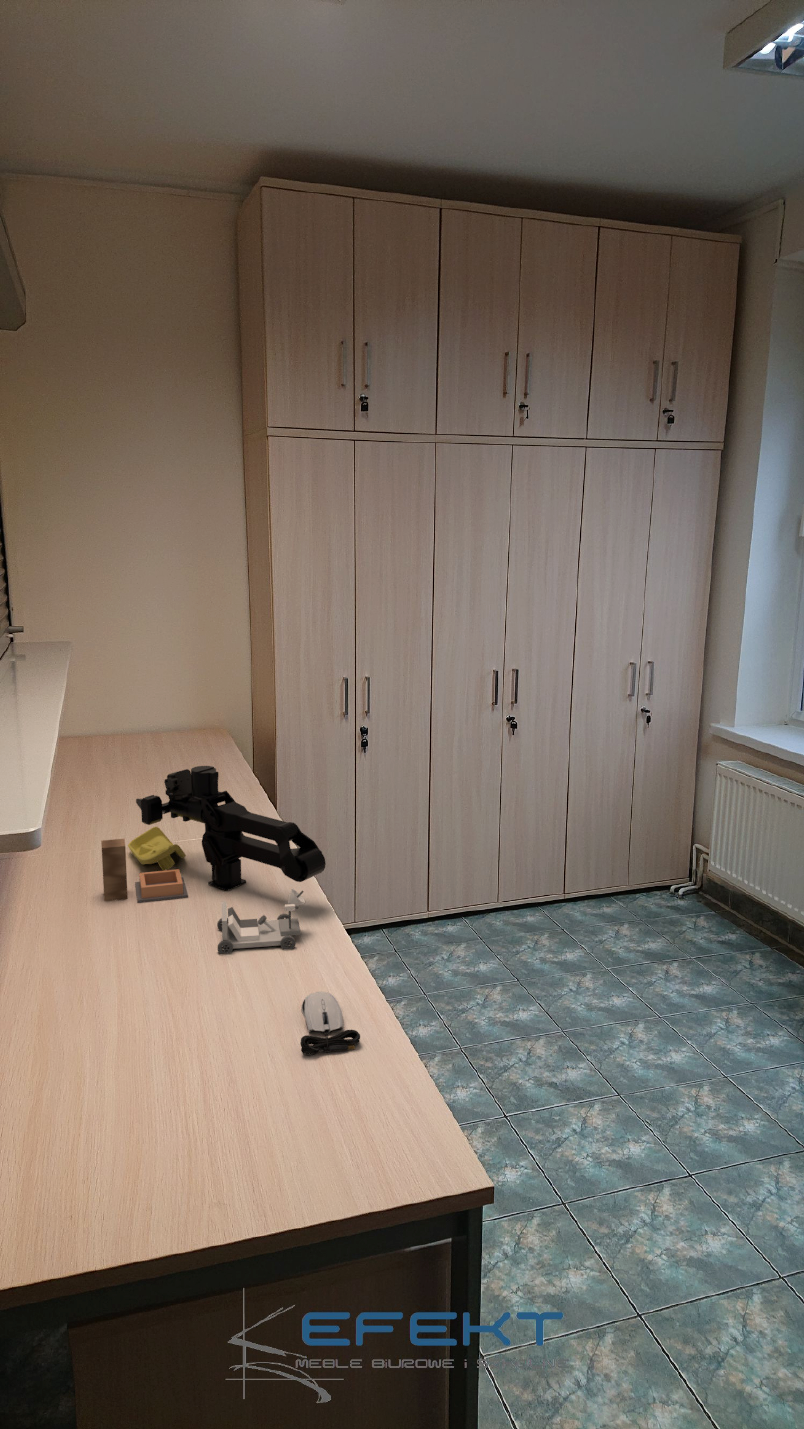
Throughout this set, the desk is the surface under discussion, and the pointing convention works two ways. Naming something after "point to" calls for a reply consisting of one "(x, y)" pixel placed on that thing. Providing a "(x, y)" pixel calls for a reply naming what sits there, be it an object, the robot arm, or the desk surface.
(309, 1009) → the computer mouse
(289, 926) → the toy car
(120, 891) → the walnut post
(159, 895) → the socket board
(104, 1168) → the desk surface
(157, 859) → the plastic component
